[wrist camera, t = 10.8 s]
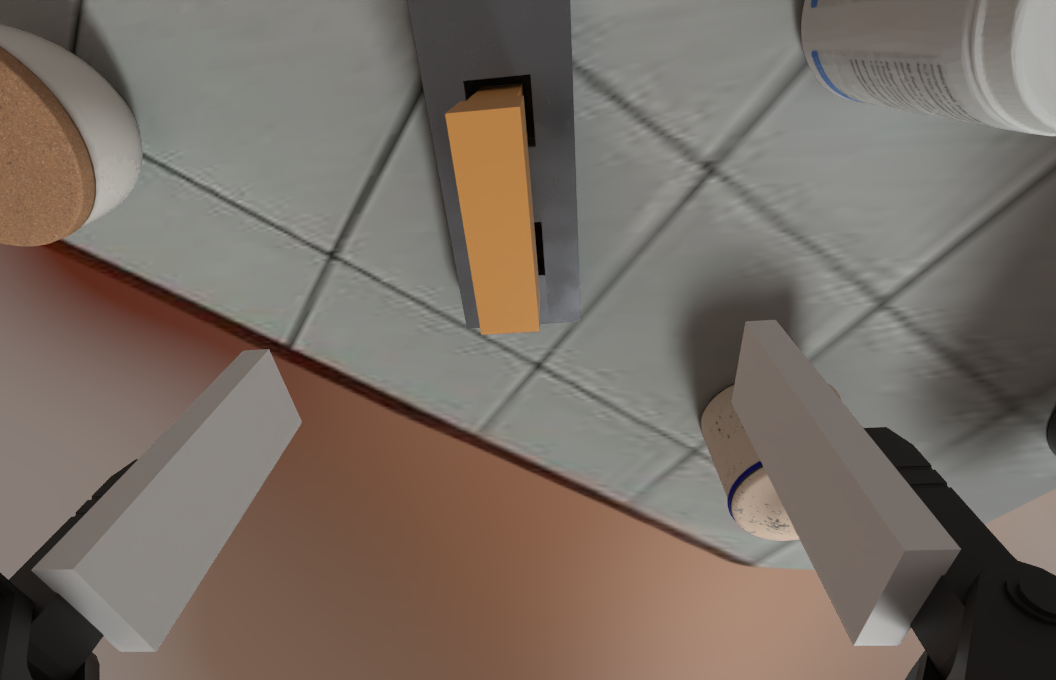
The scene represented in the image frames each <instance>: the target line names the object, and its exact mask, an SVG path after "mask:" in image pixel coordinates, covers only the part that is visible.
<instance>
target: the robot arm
mask: <svg viewBox="0 0 1056 680" xmlns="http://www.w3.org/2000/svg"><path fill="white" fill-rule="evenodd" d="M731 403H732V405H733V407H734V409H735V411H736V413H737V415H738V417H739V419H740V421H741V423H742V425H743V427H744V429H745V431H746V433H747V435H748V437H749V439H750V441H751V443H752V445H753V447H754V449H755V451H756V453H757V455H758V457H759V459H760V461H761V463H762V465H763V467H764V469H765V471H766V473H767V475H768V477H769V479H770V481H771V483H772V485H773V487H774V489H775V491H776V493H777V495H778V497H779V499H780V501H781V503H782V505H783V507H784V509H785V511H786V513H787V515H788V517H789V518H790V520H791V522H792V524H793V526H794V528H795V530H796V532H797V534H798V536H799V538H800V540H801V542H802V544H803V546H804V548H805V550H806V552H807V554H808V556H809V558H810V560H811V562H812V564H813V566H814V568H815V570H816V572H817V574H818V576H819V578H820V580H821V582H822V584H823V586H824V588H825V590H826V592H827V594H828V596H829V598H830V600H831V602H832V604H833V606H834V608H835V610H836V612H837V614H838V616H839V617H840V620H841V622H842V624H843V626H844V628H845V629H846V632H847V634H848V636H849V638H850V639H851V642H852V643H853V645H854V646H881V645H882V646H890V645H900V644H901V642H902V641H903V639H904V637H905V636H906V634H907V633H908V631H909V630H910V628H912V629H913V631H914V632H915V634H916V636H917V637H918V639H919V641H920V642H921V644H922V645H923V647H924V649H925V651H924V652H923V654H922V655H921V657H920V658H919V660H918V661H917V662H916V664H915V665H914V667H913V668H912V670H911V671H910V672H909V674H908V676H907V677H906V679H905V680H1056V576H1055V575H1053V574H1051V573H1049V572H1048V571H1046V570H1044V569H1042V568H1039V567H1036V566H1033V565H1030V564H1026V563H1023V562H1020V561H1017V560H1016V559H1015V558H1014V557H1013V556H1012V555H1011V554H1010V553H1009V552H1008V551H1007V549H1006V548H1005V547H1004V546H1003V545H1002V544H1001V543H1000V542H999V540H998V539H997V538H996V537H995V536H994V535H993V534H992V533H991V532H990V530H989V529H988V528H987V527H986V526H985V525H984V524H983V523H982V521H981V520H980V519H979V518H978V517H977V516H976V515H975V514H974V513H973V511H972V510H971V509H970V508H969V507H968V506H967V505H966V504H965V502H964V501H963V500H962V499H961V498H960V497H959V496H958V495H957V494H956V492H955V491H954V490H953V489H952V488H948V486H947V482H946V481H945V480H944V479H943V478H942V477H941V476H940V475H939V473H938V472H937V471H936V470H932V468H931V465H930V463H929V462H928V461H927V460H926V459H925V458H924V457H923V456H922V454H921V453H920V452H919V451H918V450H917V449H916V448H915V447H914V446H913V445H912V444H911V443H909V442H908V441H906V440H905V439H903V438H902V437H900V436H899V435H897V434H896V433H894V432H893V431H891V430H890V429H888V428H887V427H880V428H863V427H862V426H861V425H860V423H859V422H858V421H857V420H856V419H855V417H854V416H853V415H852V414H851V412H850V411H849V410H848V409H847V407H846V406H845V405H844V404H843V402H842V401H841V400H840V399H839V397H838V396H837V395H836V394H835V393H834V391H833V390H832V389H831V388H830V386H829V385H828V384H827V383H826V381H825V380H824V379H823V378H822V376H821V375H820V374H819V373H818V371H817V370H816V369H815V368H814V367H813V365H812V364H811V363H810V362H809V360H808V359H807V358H806V357H805V355H804V354H803V353H802V352H801V350H800V349H799V348H798V347H797V345H796V344H795V343H794V342H793V341H792V339H791V338H790V337H789V336H788V334H787V333H786V332H785V331H784V329H783V328H782V327H781V326H780V324H779V323H778V322H777V321H776V320H762V321H746V322H745V327H744V333H743V339H742V344H741V350H740V355H739V361H738V367H737V372H736V378H735V384H734V389H733V395H732V401H731ZM301 423H302V421H301V419H300V417H299V415H298V413H297V410H296V408H295V406H294V404H293V401H292V399H291V397H290V395H289V393H288V390H287V388H286V386H285V384H284V382H283V379H282V377H281V375H280V373H279V371H278V368H277V366H276V364H275V362H274V360H273V357H272V355H271V353H270V351H269V349H265V350H248V351H243V352H242V353H241V354H240V355H239V356H238V357H237V358H236V359H235V360H234V361H233V362H232V363H231V364H230V365H229V366H228V367H227V368H226V369H225V370H224V371H223V372H222V373H221V374H220V375H219V376H218V377H217V378H216V380H215V381H214V382H213V383H212V384H211V385H210V386H209V387H208V388H207V389H206V390H205V391H204V392H203V393H202V394H201V395H200V396H199V397H198V398H197V399H196V400H195V401H194V402H193V403H192V404H191V405H190V406H189V407H188V408H187V410H186V411H185V412H184V413H183V414H182V415H181V416H180V417H179V418H178V419H177V420H176V421H175V422H174V423H173V424H172V425H171V426H170V427H169V428H168V429H167V430H166V431H165V432H164V433H163V434H162V435H161V436H160V437H159V438H158V439H157V440H156V441H155V443H154V444H153V445H152V446H151V447H150V448H149V449H148V450H147V451H146V452H145V453H144V454H143V455H142V456H141V457H140V458H139V459H136V460H134V461H133V462H132V463H130V464H129V465H127V466H126V467H124V468H123V469H122V470H120V471H119V472H117V473H116V474H114V475H113V476H111V477H110V478H109V479H108V480H107V481H106V482H105V483H104V484H103V486H101V488H99V489H98V491H96V492H95V494H93V496H92V499H91V500H88V501H87V502H86V503H85V504H84V505H83V506H82V507H81V508H80V509H79V510H78V511H77V512H76V515H75V517H71V518H70V519H69V520H68V521H67V522H66V523H65V524H64V525H63V526H62V527H61V528H60V529H59V530H58V531H57V532H56V533H55V534H54V535H53V536H52V537H51V538H50V539H49V540H48V541H47V542H46V543H45V544H44V545H43V546H42V547H41V548H40V549H39V550H38V551H37V552H36V553H35V554H34V555H33V556H32V557H31V558H30V559H29V560H28V561H27V562H26V563H25V564H24V565H23V566H22V567H21V568H20V569H19V570H18V571H17V572H16V573H15V574H14V575H13V576H12V577H11V578H10V579H9V580H8V579H7V578H6V577H4V576H3V575H2V574H1V573H0V680H99V662H98V659H97V656H96V655H95V654H93V653H92V651H93V649H94V648H95V647H96V645H97V644H98V642H99V641H100V639H101V638H102V637H104V638H106V639H107V640H108V641H109V642H110V643H111V644H112V645H113V646H114V647H115V648H117V649H118V650H119V651H120V652H154V651H155V652H156V651H157V649H158V648H159V646H160V645H161V643H162V642H163V640H164V638H165V637H166V635H167V634H168V632H169V631H170V629H171V627H172V626H173V624H174V623H175V621H176V620H177V618H178V616H179V615H180V613H181V612H182V610H183V609H184V607H185V605H186V604H187V602H188V601H189V599H190V598H191V596H192V594H193V593H194V591H195V590H196V588H197V587H198V585H199V583H200V582H201V580H202V579H203V577H204V576H205V574H206V572H207V571H208V569H209V568H210V566H211V565H212V563H213V561H214V560H215V558H216V556H217V555H218V554H219V552H220V550H221V549H222V547H223V546H224V544H225V543H226V541H227V539H228V538H229V536H230V535H231V533H232V532H233V530H234V528H235V527H236V525H237V524H238V522H239V521H240V519H241V517H242V516H243V514H244V513H245V511H246V510H247V508H248V506H249V505H250V503H251V502H252V500H253V498H254V497H255V495H256V494H257V492H258V491H259V489H260V488H261V486H262V484H263V483H264V481H265V480H266V478H267V476H268V475H269V473H270V472H271V470H272V469H273V467H274V465H275V464H276V462H277V461H278V459H279V458H280V456H281V454H282V453H283V451H284V450H285V448H286V446H287V445H288V443H289V442H290V440H291V439H292V437H293V435H294V434H295V432H296V431H297V429H298V428H299V426H300V424H301ZM1048 444H1049V447H1050V449H1051V450H1052V452H1053V453H1054V454H1055V455H1056V412H1055V414H1054V416H1053V418H1052V420H1051V422H1050V425H1049V428H1048Z"/></svg>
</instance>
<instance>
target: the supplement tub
mask: <svg viewBox="0 0 1056 680" xmlns="http://www.w3.org/2000/svg"><path fill="white" fill-rule="evenodd" d="M801 38H802V46H803V50H804V54H805V57H806V60H807V62H808V65H809V67H810V69H811V71H812V72H813V74H814V75H815V77H816V78H817V80H818V81H819V82H820V83H821V84H822V85H823V86H824V87H825V88H826V89H828V90H829V91H831V92H832V93H834V94H836V95H838V96H840V97H843V98H845V99H849V100H853V101H858V102H862V103H868V104H873V105H879V106H884V107H889V108H894V109H899V110H905V111H910V112H915V113H921V114H926V115H931V116H937V117H942V118H947V119H952V120H958V121H963V122H968V123H973V124H979V125H984V126H989V127H994V128H999V129H1005V130H1012V131H1018V132H1023V133H1029V134H1038V135H1044V136H1056V0H805V2H804V7H803V12H802V21H801Z"/></svg>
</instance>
